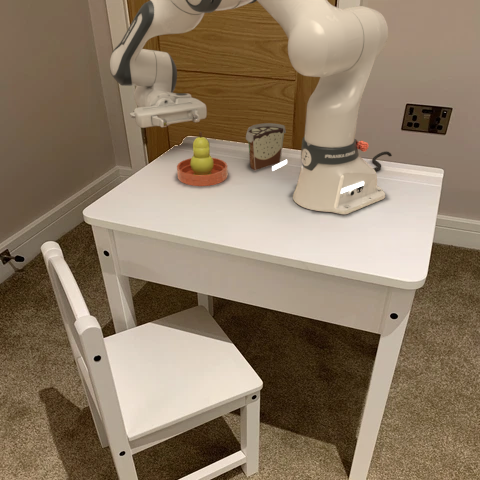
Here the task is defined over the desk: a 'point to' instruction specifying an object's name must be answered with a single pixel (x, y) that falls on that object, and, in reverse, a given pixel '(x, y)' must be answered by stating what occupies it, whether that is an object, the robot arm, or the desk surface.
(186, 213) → the desk surface
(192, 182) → the dish
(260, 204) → the desk surface
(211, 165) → the pear
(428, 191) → the desk surface
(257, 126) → the food container
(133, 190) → the desk surface
